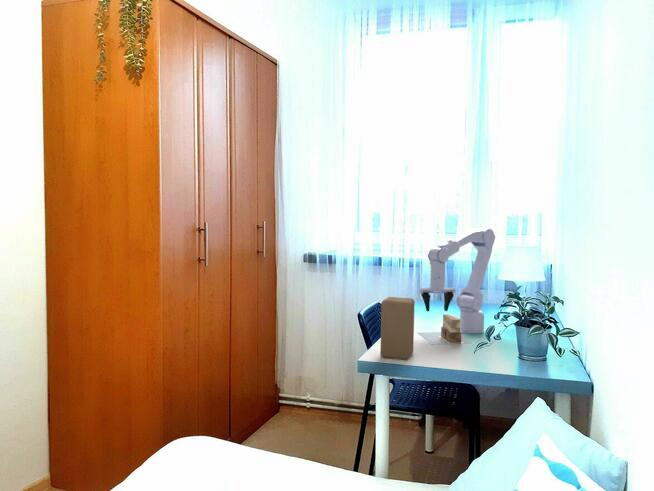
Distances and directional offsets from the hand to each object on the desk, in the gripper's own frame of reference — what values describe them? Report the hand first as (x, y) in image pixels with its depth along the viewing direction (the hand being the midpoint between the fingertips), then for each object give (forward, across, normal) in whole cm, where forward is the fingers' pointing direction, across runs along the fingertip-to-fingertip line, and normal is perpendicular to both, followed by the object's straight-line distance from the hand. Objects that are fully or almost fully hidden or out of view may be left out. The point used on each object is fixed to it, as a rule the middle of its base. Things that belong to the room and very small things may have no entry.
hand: (436, 310), depth 229 cm
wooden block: (+11, -24, -28) cm, 38 cm away
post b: (+10, +3, -10) cm, 15 cm away
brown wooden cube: (+10, +4, -4) cm, 12 cm away
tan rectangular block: (+6, +4, -7) cm, 10 cm away
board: (+10, +2, -4) cm, 11 cm away
